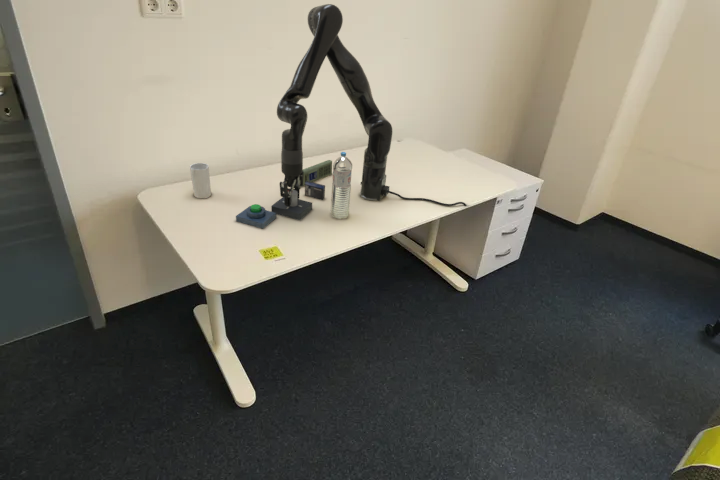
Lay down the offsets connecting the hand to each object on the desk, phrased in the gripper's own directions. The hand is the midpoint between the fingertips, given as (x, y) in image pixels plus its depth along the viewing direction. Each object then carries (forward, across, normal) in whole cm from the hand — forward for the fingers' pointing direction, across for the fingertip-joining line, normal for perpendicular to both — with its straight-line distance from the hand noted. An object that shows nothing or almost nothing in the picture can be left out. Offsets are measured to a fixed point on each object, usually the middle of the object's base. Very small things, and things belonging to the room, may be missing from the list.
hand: (292, 201), depth 160 cm
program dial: (+1, 0, 0) cm, 1 cm away
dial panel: (+4, 0, 0) cm, 4 cm away
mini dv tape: (+4, +15, -2) cm, 16 cm away
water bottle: (+4, +6, -17) cm, 19 cm away
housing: (+4, -12, +8) cm, 15 cm away
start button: (0, -12, +8) cm, 14 cm away
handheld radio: (+4, +28, +6) cm, 29 cm away
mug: (+4, -5, +38) cm, 39 cm away
